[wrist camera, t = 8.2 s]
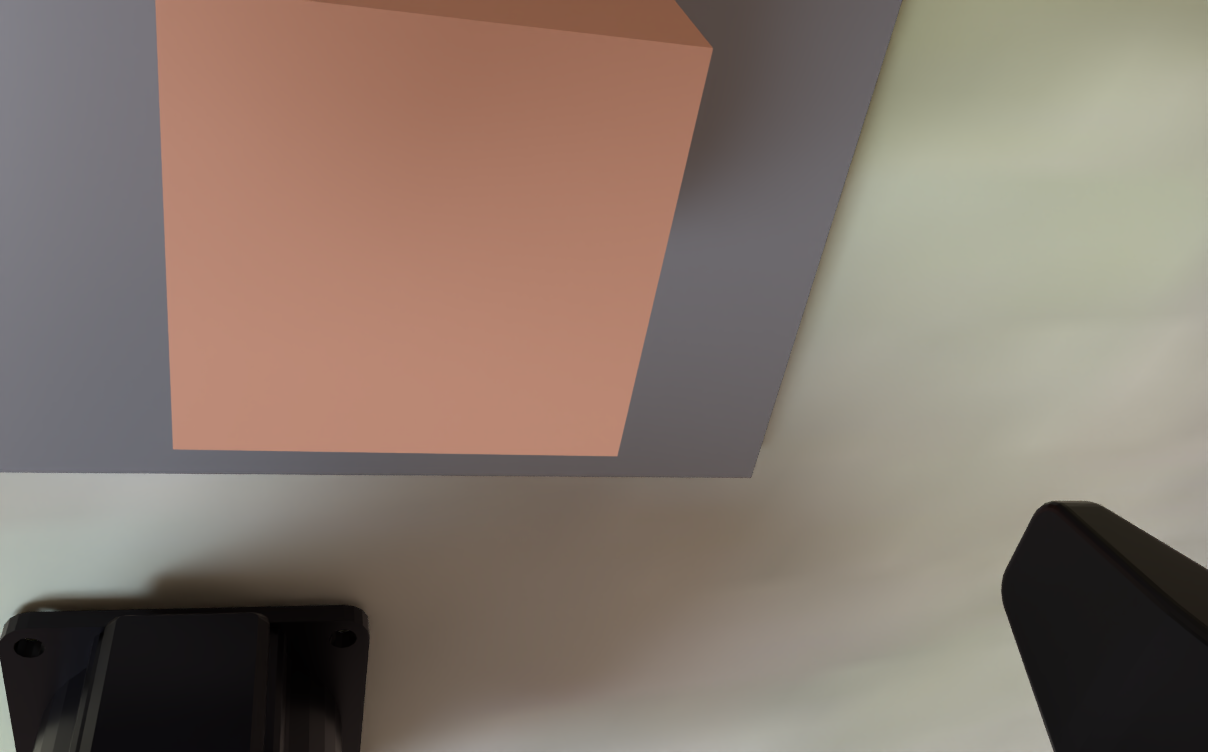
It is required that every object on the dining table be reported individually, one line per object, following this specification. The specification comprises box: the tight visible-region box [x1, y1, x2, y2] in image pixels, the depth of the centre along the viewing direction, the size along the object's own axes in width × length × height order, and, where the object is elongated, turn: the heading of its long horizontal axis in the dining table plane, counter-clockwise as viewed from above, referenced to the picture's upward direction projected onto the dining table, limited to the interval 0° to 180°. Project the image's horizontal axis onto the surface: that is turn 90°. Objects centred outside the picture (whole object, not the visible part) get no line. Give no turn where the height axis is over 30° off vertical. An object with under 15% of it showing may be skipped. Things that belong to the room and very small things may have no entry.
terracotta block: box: [155, 0, 713, 456], centre depth 14 cm, size 5×5×5 cm
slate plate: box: [0, 0, 902, 478], centre depth 16 cm, size 14×14×1 cm
